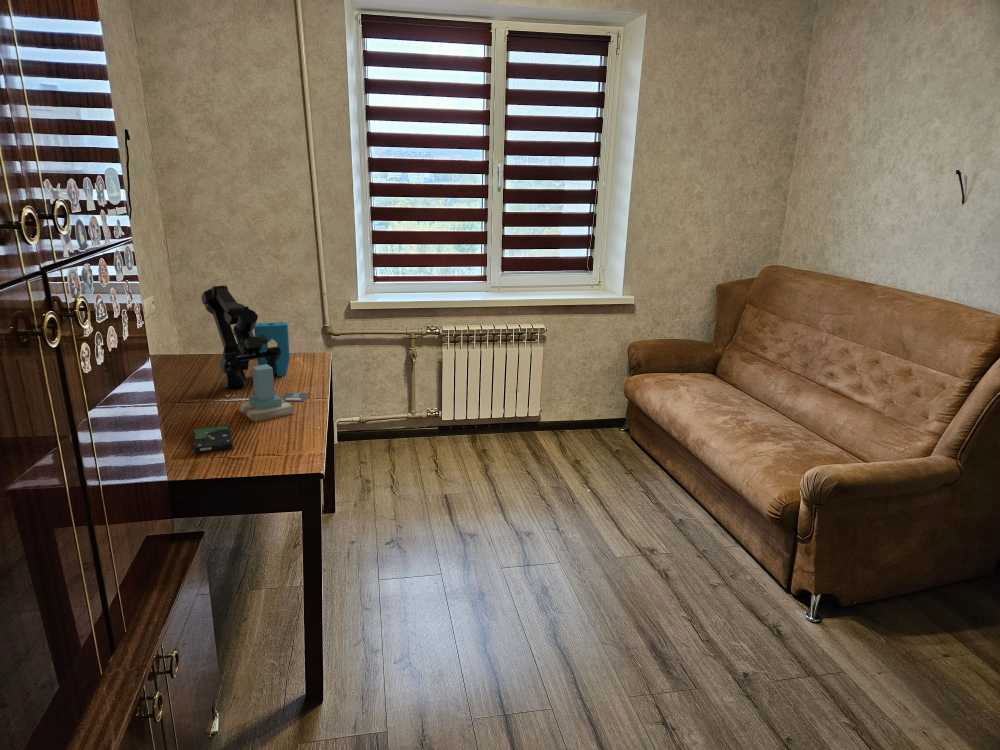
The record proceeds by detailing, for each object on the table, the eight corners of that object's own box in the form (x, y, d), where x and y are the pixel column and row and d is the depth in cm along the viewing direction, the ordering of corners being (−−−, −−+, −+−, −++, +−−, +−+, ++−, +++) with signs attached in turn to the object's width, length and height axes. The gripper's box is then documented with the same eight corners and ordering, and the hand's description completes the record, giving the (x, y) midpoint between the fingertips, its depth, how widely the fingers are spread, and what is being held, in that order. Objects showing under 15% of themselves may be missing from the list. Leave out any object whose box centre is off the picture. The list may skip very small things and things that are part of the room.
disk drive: (234, 451, 192) (229, 432, 204) (233, 442, 191) (229, 423, 204) (195, 456, 187) (193, 436, 200) (194, 447, 187) (192, 428, 199)
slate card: (286, 393, 237) (286, 392, 237) (308, 394, 238) (308, 392, 238) (280, 401, 230) (280, 400, 230) (303, 401, 230) (303, 400, 230)
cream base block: (239, 411, 221) (238, 403, 220) (277, 403, 229) (276, 395, 228) (255, 423, 212) (254, 414, 211) (293, 414, 220) (293, 406, 219)
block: (290, 371, 262) (287, 322, 256) (290, 375, 257) (287, 325, 251) (258, 373, 258) (254, 323, 252) (258, 377, 253) (254, 326, 247)
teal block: (249, 403, 220) (245, 366, 216) (273, 398, 225) (270, 362, 221) (257, 410, 214) (254, 372, 210) (281, 405, 219) (278, 368, 215)
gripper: (221, 330, 213) (235, 371, 208) (278, 323, 224) (292, 362, 220) (215, 347, 221) (229, 388, 216) (270, 340, 232) (285, 378, 228)
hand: (259, 379), depth 220 cm, fingers open, 9 cm apart
